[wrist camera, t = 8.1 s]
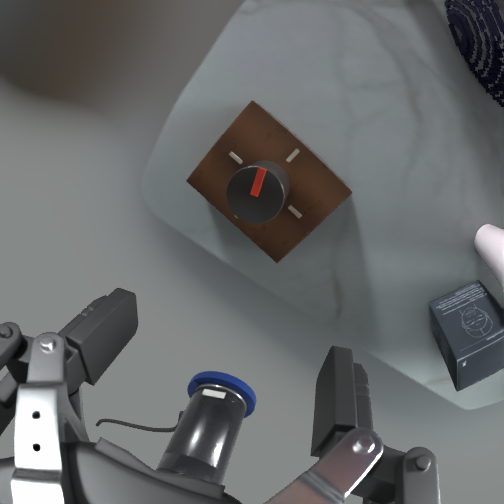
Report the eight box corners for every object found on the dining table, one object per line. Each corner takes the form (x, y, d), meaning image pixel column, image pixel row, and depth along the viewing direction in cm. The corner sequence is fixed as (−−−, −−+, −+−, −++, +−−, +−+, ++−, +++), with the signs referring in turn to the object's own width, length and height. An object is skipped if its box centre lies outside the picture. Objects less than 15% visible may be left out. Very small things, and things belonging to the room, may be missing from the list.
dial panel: (280, 251, 31) (276, 264, 28) (197, 176, 30) (185, 181, 27) (348, 186, 27) (352, 192, 24) (258, 103, 25) (252, 99, 22)
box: (432, 334, 31) (455, 393, 21) (427, 301, 29) (456, 360, 20) (481, 312, 28) (513, 364, 18) (479, 277, 26) (519, 327, 17)
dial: (281, 214, 26) (273, 233, 21) (236, 199, 26) (218, 214, 22) (296, 169, 24) (292, 178, 19) (249, 154, 25) (233, 158, 20)
